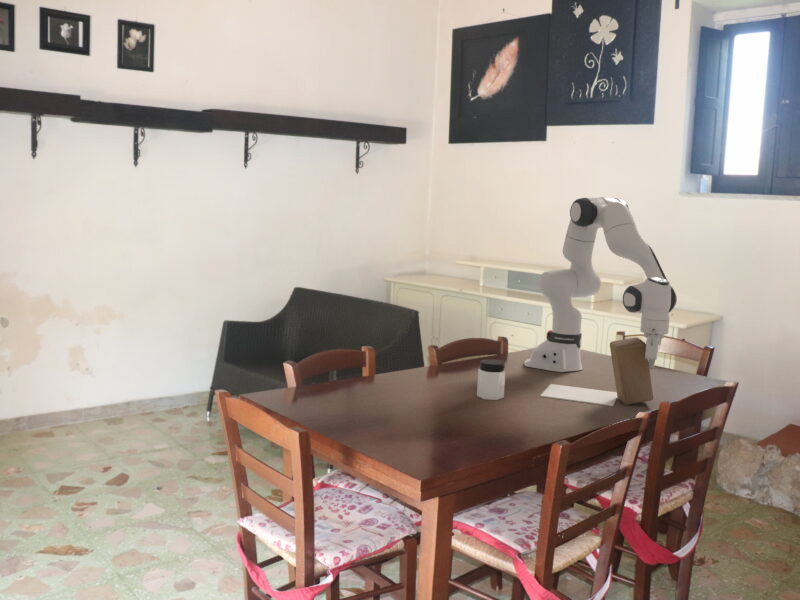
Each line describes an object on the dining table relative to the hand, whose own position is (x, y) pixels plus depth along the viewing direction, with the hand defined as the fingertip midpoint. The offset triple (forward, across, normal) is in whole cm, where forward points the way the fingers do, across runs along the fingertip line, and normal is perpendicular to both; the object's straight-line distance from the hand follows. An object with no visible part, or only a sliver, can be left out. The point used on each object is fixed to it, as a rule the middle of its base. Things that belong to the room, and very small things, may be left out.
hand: (651, 368), depth 265 cm
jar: (+12, -17, +50) cm, 54 cm away
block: (+11, 0, +4) cm, 12 cm away
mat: (+12, +1, +22) cm, 25 cm away
